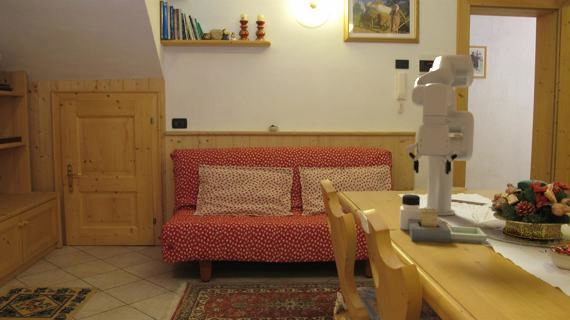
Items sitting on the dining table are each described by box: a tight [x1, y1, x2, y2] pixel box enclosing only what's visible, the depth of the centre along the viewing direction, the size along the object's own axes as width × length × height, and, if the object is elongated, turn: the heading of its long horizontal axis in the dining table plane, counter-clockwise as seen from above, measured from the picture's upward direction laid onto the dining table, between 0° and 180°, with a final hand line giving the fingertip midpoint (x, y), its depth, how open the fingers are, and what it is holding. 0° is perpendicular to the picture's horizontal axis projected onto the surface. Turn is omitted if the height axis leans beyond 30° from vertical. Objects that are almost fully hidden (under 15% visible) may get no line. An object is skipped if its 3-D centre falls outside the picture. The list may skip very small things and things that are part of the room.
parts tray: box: [447, 225, 488, 244], centre depth 158 cm, size 11×11×2 cm
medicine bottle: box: [398, 193, 421, 231], centre depth 170 cm, size 7×7×12 cm
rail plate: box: [407, 219, 451, 244], centre depth 159 cm, size 14×12×4 cm
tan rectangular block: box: [420, 207, 440, 227], centre depth 159 cm, size 5×5×9 cm
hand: (431, 173), depth 157 cm, fingers open, 9 cm apart
